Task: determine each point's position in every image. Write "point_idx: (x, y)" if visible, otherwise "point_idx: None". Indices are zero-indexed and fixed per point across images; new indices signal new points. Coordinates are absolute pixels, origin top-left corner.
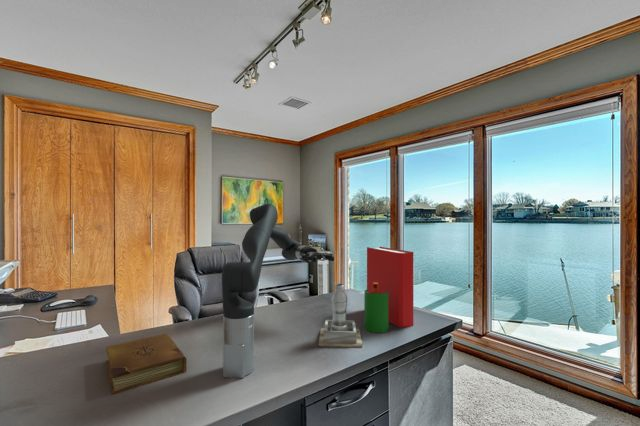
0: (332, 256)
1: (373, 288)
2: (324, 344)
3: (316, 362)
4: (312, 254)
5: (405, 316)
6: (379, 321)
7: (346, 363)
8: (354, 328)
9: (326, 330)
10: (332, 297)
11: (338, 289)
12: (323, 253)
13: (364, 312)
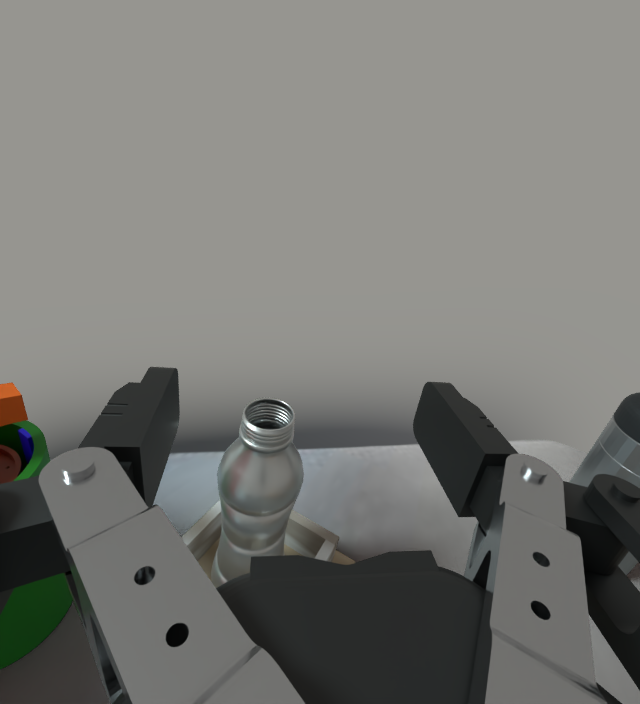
0: (174, 368)
1: (27, 418)
2: (335, 550)
3: (388, 489)
4: (487, 607)
5: None
6: None
7: (323, 456)
8: (218, 507)
9: (326, 541)
10: (302, 471)
11: (286, 419)
12: (164, 521)
13: (24, 594)
